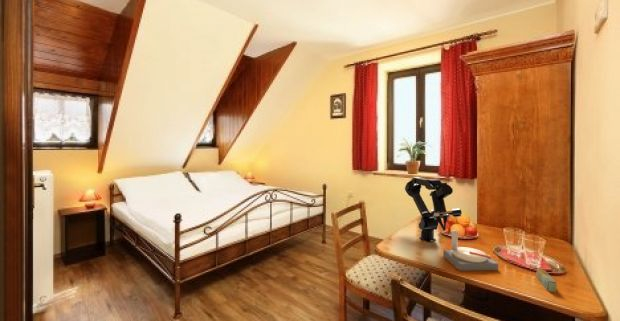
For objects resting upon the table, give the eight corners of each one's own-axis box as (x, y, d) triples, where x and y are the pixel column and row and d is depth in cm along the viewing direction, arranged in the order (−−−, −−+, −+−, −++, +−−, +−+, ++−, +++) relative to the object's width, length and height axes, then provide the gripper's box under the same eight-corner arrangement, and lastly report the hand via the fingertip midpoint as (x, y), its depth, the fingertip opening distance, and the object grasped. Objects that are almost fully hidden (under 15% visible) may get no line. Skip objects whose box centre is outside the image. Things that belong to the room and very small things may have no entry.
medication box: (556, 293, 106) (557, 283, 106) (547, 291, 107) (548, 281, 107) (543, 278, 117) (544, 269, 117) (535, 276, 118) (536, 267, 118)
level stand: (477, 255, 139) (478, 247, 139) (498, 270, 124) (498, 260, 124) (443, 256, 139) (443, 247, 139) (459, 270, 124) (460, 261, 124)
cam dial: (492, 255, 131) (493, 233, 130) (488, 266, 120) (489, 242, 120) (454, 247, 142) (455, 226, 141) (447, 256, 131) (448, 234, 130)
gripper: (456, 203, 153) (463, 232, 146) (420, 207, 159) (425, 235, 152) (458, 197, 144) (465, 227, 137) (419, 201, 150) (424, 230, 143)
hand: (444, 230), depth 142 cm, fingers closed
